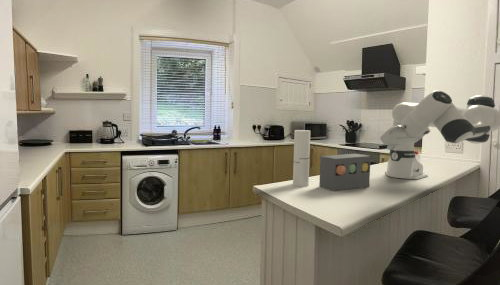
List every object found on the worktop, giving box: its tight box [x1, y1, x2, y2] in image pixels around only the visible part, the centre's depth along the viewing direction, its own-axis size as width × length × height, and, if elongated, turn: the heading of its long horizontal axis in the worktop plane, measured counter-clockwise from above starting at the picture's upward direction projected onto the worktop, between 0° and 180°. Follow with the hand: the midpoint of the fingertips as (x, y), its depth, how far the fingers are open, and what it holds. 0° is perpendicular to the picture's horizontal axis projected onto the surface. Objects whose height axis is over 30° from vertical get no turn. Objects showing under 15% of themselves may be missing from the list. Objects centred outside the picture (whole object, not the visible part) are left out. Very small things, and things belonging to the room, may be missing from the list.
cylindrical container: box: [292, 129, 311, 188], centre depth 154 cm, size 7×7×25 cm
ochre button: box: [362, 162, 368, 172], centre depth 154 cm, size 4×3×4 cm
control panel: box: [318, 153, 372, 192], centre depth 153 cm, size 22×9×14 cm, turn 120°
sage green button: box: [349, 164, 356, 173], centre depth 150 cm, size 4×3×4 cm
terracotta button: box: [336, 165, 346, 175], centre depth 145 cm, size 4×3×4 cm
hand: (389, 148), depth 141 cm, fingers closed
